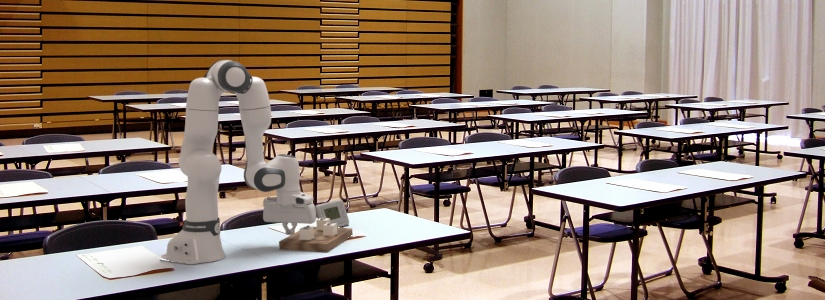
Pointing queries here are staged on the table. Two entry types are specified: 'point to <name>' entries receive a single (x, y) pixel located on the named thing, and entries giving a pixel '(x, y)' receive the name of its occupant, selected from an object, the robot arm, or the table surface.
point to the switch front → (306, 233)
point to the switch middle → (330, 229)
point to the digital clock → (333, 212)
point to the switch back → (322, 222)
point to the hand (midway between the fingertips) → (290, 234)
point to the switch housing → (315, 241)
